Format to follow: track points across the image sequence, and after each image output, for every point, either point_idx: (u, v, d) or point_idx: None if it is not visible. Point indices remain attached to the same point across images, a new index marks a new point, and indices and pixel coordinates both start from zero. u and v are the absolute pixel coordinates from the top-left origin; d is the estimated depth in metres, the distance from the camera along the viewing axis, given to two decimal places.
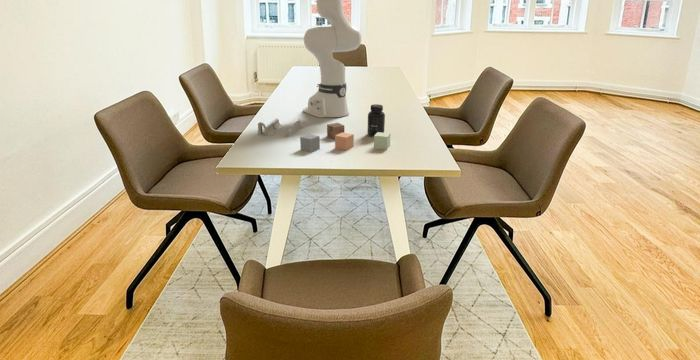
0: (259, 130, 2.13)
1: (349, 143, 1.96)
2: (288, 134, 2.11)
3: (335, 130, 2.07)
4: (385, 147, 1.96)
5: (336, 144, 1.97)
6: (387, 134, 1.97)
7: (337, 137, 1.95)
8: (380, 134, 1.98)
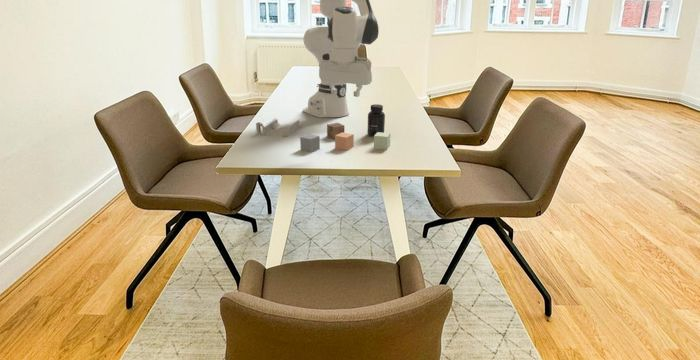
0: (257, 130, 2.13)
1: (349, 143, 1.96)
2: (286, 134, 2.11)
3: (335, 130, 2.07)
4: (385, 147, 1.96)
5: (336, 144, 1.97)
6: (387, 134, 1.97)
7: (337, 137, 1.95)
8: (380, 134, 1.98)
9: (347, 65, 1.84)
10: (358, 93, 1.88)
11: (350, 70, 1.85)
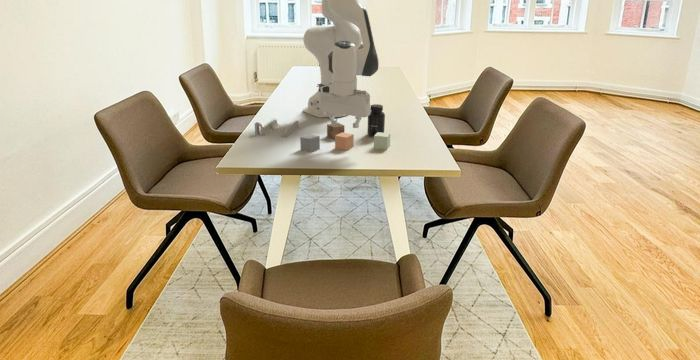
0: (256, 130, 2.13)
1: (349, 143, 1.96)
2: (284, 134, 2.11)
3: (335, 130, 2.07)
4: (385, 147, 1.96)
5: (336, 144, 1.97)
6: (387, 134, 1.97)
7: (337, 137, 1.95)
8: (380, 134, 1.98)
9: (346, 98, 1.88)
10: (357, 124, 1.92)
11: (349, 102, 1.89)
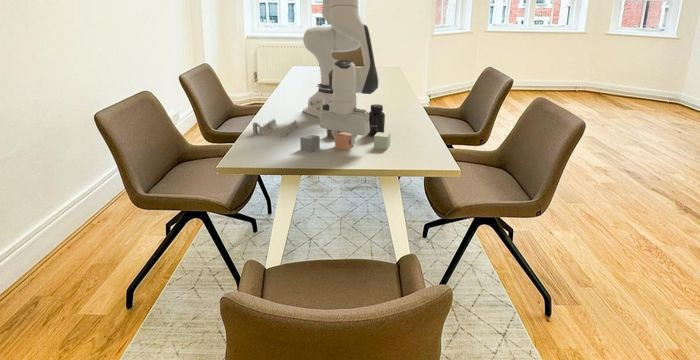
0: (254, 130, 2.13)
1: None
2: (282, 134, 2.11)
3: None
4: (385, 147, 1.96)
5: (336, 144, 1.97)
6: (387, 134, 1.97)
7: (337, 137, 1.95)
8: (380, 134, 1.98)
9: (346, 116, 1.91)
10: (353, 141, 1.95)
11: (349, 121, 1.92)
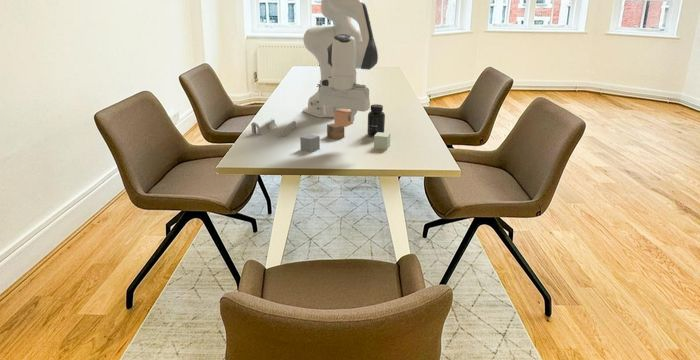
0: (252, 130, 2.13)
1: None
2: (281, 135, 2.11)
3: (335, 130, 2.07)
4: (385, 147, 1.96)
5: (335, 120, 1.94)
6: (387, 134, 1.97)
7: (336, 113, 1.93)
8: (380, 134, 1.98)
9: (346, 92, 1.88)
10: (353, 118, 1.93)
11: (348, 96, 1.89)
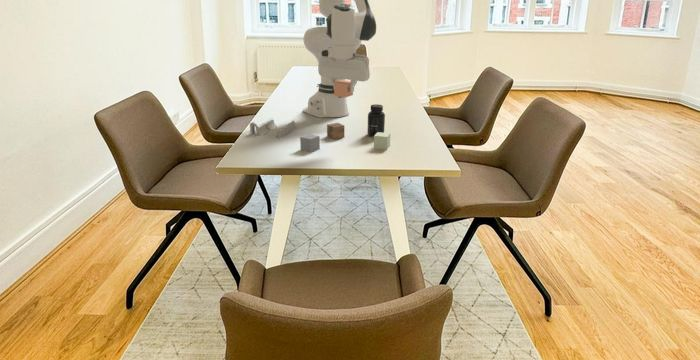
0: (251, 130, 2.13)
1: None
2: (279, 135, 2.10)
3: (335, 130, 2.07)
4: (385, 147, 1.96)
5: (335, 91, 1.94)
6: (387, 134, 1.97)
7: (336, 84, 1.93)
8: (380, 134, 1.98)
9: (345, 62, 1.88)
10: (353, 88, 1.93)
11: (348, 66, 1.89)
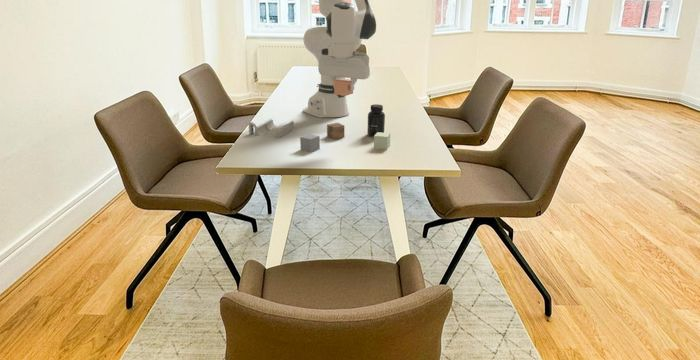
0: (250, 130, 2.13)
1: None
2: (278, 135, 2.10)
3: (335, 130, 2.07)
4: (385, 147, 1.96)
5: (335, 89, 1.94)
6: (387, 134, 1.97)
7: (336, 82, 1.92)
8: (380, 134, 1.98)
9: (345, 60, 1.88)
10: (353, 87, 1.92)
11: (348, 65, 1.89)
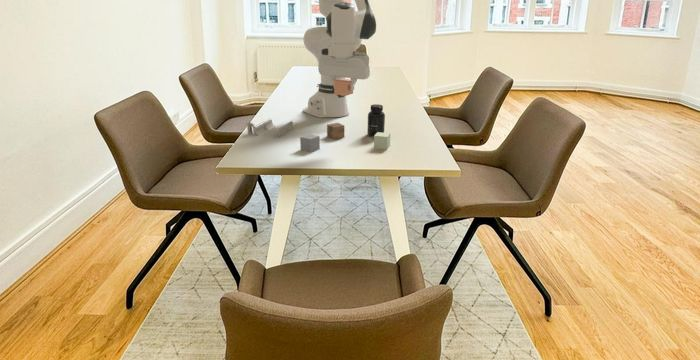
0: (248, 130, 2.13)
1: None
2: (276, 135, 2.10)
3: (335, 130, 2.07)
4: (385, 147, 1.96)
5: (335, 89, 1.94)
6: (387, 134, 1.97)
7: (336, 82, 1.92)
8: (380, 134, 1.98)
9: (345, 60, 1.88)
10: (353, 87, 1.92)
11: (348, 65, 1.89)
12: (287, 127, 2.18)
